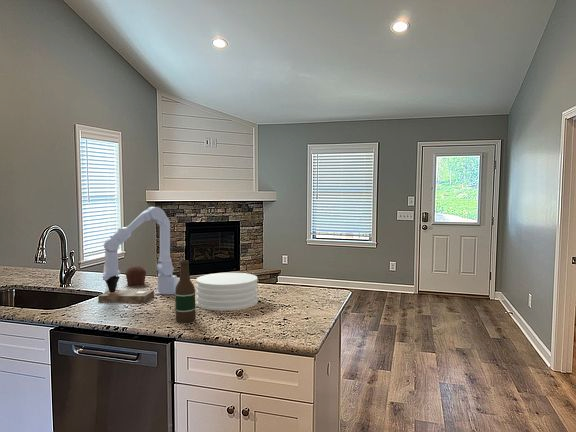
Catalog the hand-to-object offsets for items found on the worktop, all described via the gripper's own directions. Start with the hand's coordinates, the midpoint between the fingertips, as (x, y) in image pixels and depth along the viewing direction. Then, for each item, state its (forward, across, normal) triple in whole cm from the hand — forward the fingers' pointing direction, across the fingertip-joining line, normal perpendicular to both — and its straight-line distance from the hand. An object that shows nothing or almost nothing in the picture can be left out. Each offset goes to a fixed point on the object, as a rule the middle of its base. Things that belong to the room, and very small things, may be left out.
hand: (112, 292), depth 209 cm
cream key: (+3, 0, +14) cm, 14 cm away
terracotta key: (+3, 0, 0) cm, 3 cm away
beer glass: (+3, -14, -7) cm, 16 cm away
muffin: (+4, -33, -2) cm, 33 cm away
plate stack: (+4, +4, +56) cm, 57 cm away
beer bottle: (+3, +33, +45) cm, 56 cm away
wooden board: (+3, 0, +7) cm, 8 cm away
